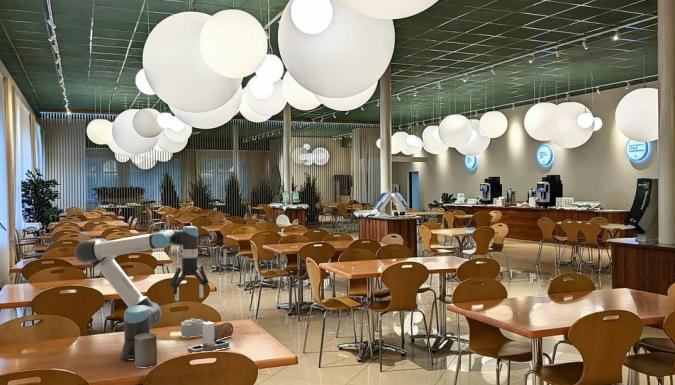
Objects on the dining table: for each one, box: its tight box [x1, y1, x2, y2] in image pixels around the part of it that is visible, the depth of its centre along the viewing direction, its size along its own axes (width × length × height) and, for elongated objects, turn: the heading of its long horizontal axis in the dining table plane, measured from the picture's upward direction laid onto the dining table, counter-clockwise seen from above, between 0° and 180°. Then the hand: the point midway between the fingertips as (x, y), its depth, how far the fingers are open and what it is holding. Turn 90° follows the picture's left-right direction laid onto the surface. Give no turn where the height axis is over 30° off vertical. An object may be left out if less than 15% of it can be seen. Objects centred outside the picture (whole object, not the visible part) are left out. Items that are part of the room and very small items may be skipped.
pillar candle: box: [134, 332, 158, 368], centre depth 268 cm, size 10×10×15 cm
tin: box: [214, 322, 234, 340], centre depth 314 cm, size 15×3×8 cm, turn 143°
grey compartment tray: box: [187, 340, 230, 353], centre depth 291 cm, size 19×7×3 cm, turn 134°
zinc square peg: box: [202, 321, 215, 347], centre depth 291 cm, size 4×4×14 cm
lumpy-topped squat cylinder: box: [180, 317, 206, 337], centre depth 322 cm, size 10×13×9 cm
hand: (189, 299), depth 296 cm, fingers open, 13 cm apart
